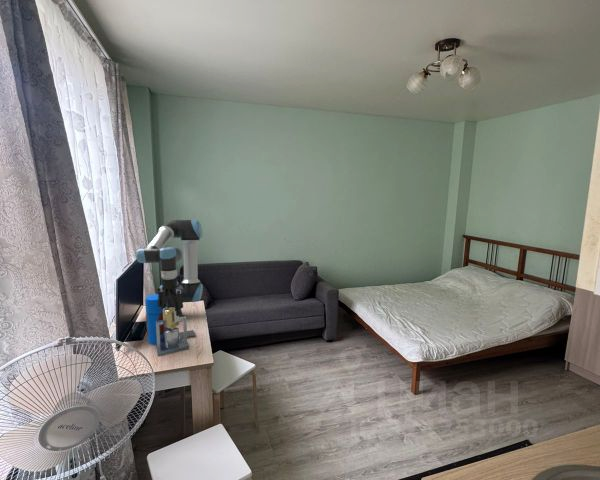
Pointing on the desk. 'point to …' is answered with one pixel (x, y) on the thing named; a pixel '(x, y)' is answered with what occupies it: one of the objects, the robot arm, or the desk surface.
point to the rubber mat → (189, 334)
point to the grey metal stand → (172, 339)
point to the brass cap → (169, 318)
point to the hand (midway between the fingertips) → (171, 320)
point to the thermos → (154, 319)
